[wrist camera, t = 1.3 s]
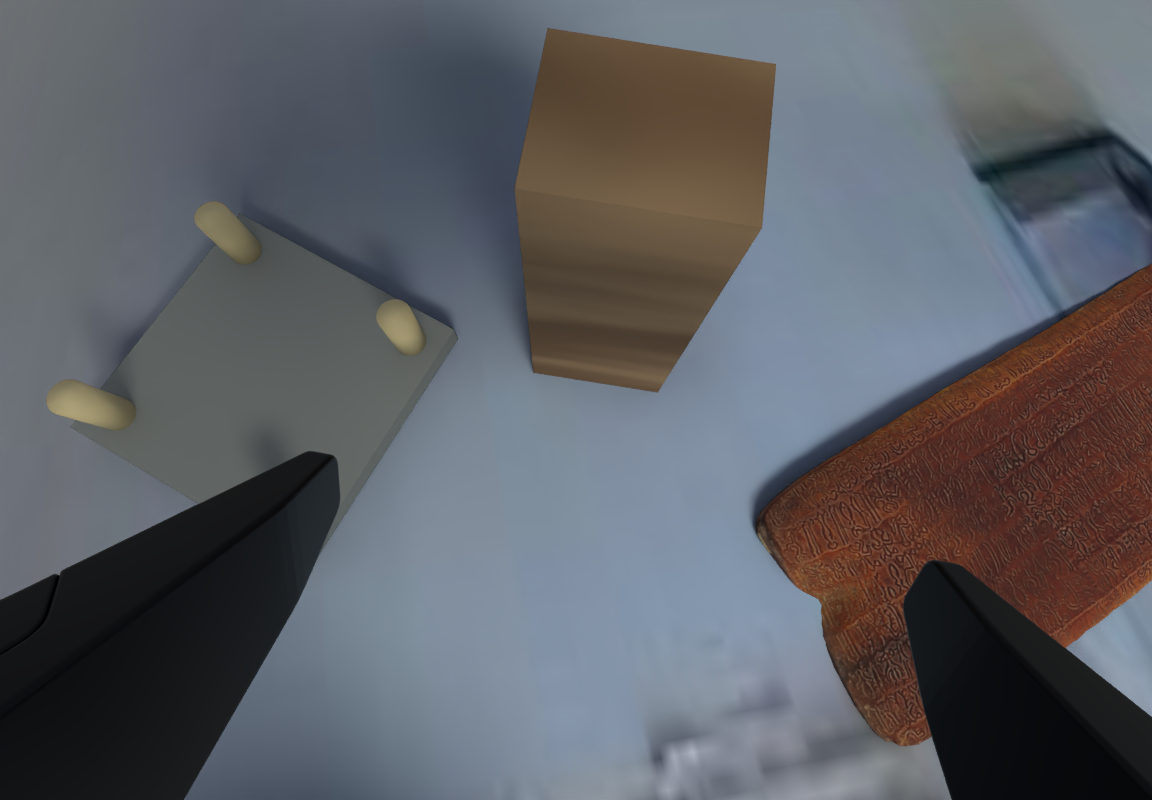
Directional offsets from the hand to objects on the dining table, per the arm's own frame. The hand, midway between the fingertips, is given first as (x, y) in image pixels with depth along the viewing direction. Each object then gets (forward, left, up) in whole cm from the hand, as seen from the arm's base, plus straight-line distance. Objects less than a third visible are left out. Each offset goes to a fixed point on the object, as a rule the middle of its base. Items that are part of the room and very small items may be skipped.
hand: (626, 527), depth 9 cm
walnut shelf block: (+8, +3, -14) cm, 16 cm away
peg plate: (0, +13, -14) cm, 19 cm away
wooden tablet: (+13, -16, -15) cm, 25 cm away
